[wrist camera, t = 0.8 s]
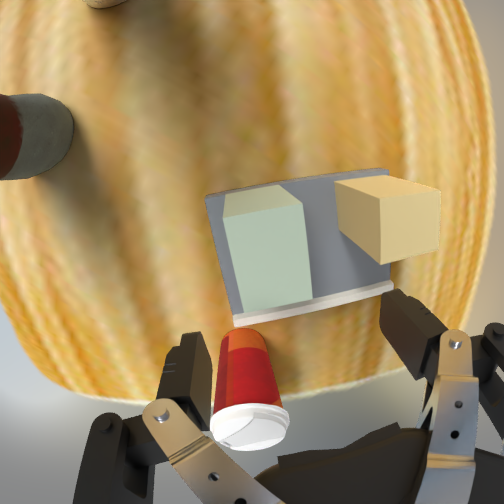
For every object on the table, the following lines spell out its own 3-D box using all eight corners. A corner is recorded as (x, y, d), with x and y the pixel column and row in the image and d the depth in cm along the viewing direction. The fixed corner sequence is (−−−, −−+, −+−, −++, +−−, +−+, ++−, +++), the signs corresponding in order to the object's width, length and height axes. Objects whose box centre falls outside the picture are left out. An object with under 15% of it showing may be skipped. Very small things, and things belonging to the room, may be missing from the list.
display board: (206, 195, 27) (203, 200, 24) (379, 167, 27) (393, 170, 24) (234, 312, 32) (234, 327, 29) (382, 279, 32) (393, 290, 29)
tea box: (239, 262, 28) (244, 313, 19) (225, 194, 25) (222, 218, 17) (290, 252, 28) (315, 298, 19) (280, 184, 25) (305, 202, 17)
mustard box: (334, 181, 25) (379, 198, 17) (385, 174, 25) (440, 190, 17) (338, 231, 27) (380, 267, 19) (387, 222, 27) (438, 252, 19)
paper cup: (237, 372, 36) (242, 458, 23) (200, 340, 33) (191, 432, 20) (284, 346, 35) (307, 434, 22) (250, 309, 32) (262, 403, 19)
